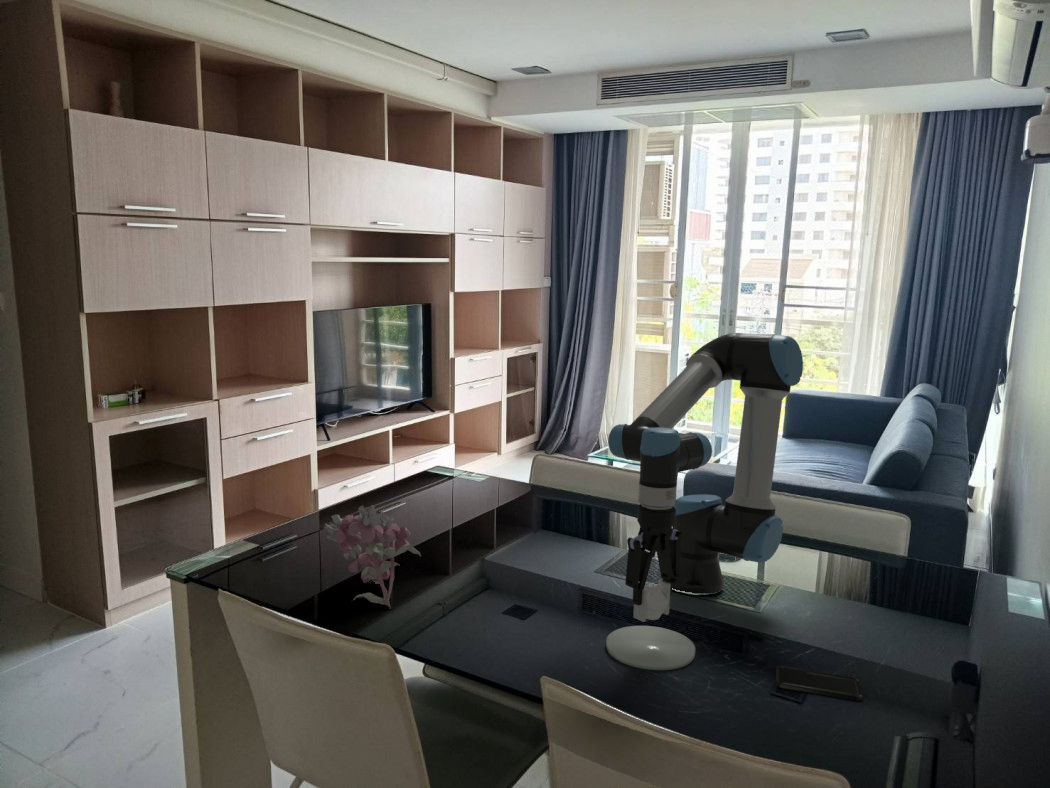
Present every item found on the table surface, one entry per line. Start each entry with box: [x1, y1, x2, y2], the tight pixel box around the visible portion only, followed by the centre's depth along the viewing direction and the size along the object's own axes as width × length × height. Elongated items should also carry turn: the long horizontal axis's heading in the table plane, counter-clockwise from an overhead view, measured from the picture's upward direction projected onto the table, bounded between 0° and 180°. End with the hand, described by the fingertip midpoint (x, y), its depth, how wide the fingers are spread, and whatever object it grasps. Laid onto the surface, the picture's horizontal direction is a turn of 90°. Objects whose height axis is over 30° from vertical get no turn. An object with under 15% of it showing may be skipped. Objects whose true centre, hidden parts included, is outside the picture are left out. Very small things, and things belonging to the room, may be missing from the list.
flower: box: [323, 504, 422, 609], centre depth 181 cm, size 20×22×25 cm
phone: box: [775, 665, 863, 702], centre depth 144 cm, size 8×1×15 cm
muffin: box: [644, 583, 668, 621], centre depth 155 cm, size 6×6×7 cm
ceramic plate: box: [605, 625, 696, 671], centre depth 156 cm, size 18×18×1 cm
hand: (651, 615), depth 156 cm, fingers closed on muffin, 6 cm apart
